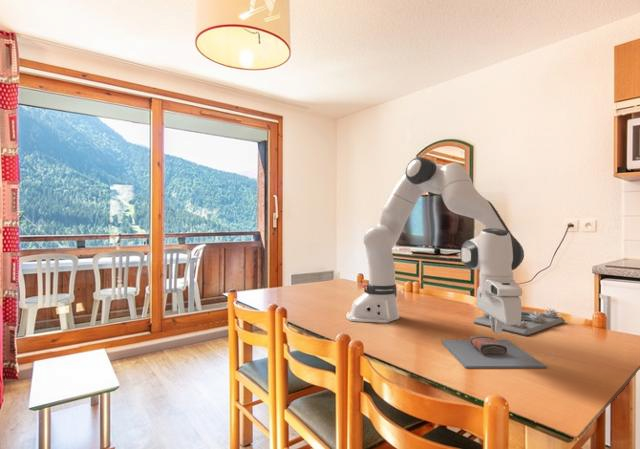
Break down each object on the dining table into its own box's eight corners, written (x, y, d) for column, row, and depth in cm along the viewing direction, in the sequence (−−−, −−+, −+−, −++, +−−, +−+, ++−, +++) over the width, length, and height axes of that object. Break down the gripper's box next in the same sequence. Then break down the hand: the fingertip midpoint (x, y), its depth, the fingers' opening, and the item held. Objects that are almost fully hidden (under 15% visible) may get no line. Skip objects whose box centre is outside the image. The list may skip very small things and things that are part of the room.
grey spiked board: (511, 313, 159) (511, 296, 159) (566, 324, 141) (566, 305, 141) (471, 324, 143) (471, 306, 142) (527, 338, 125) (527, 318, 125)
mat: (465, 368, 99) (465, 366, 99) (440, 341, 121) (440, 340, 121) (546, 368, 98) (546, 365, 98) (507, 341, 120) (507, 339, 120)
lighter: (507, 356, 106) (491, 344, 116) (507, 344, 106) (492, 334, 116) (479, 354, 107) (466, 343, 117) (480, 343, 107) (467, 332, 117)
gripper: (471, 279, 115) (471, 322, 115) (501, 291, 94) (502, 343, 94) (491, 278, 114) (491, 322, 114) (526, 290, 94) (526, 343, 94)
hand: (496, 332), depth 104 cm, fingers closed
